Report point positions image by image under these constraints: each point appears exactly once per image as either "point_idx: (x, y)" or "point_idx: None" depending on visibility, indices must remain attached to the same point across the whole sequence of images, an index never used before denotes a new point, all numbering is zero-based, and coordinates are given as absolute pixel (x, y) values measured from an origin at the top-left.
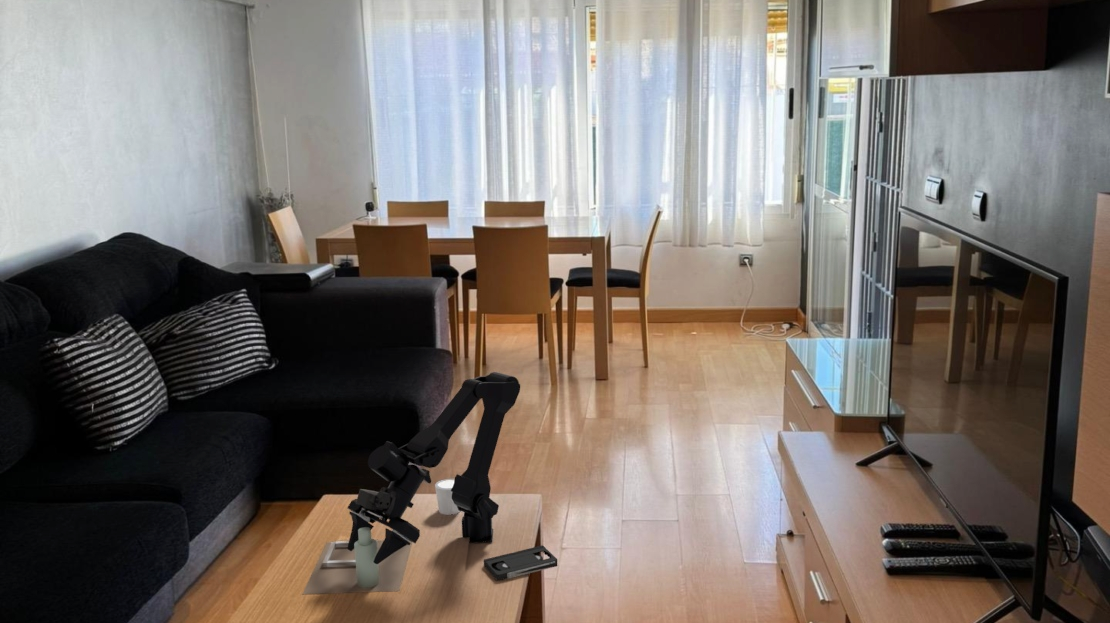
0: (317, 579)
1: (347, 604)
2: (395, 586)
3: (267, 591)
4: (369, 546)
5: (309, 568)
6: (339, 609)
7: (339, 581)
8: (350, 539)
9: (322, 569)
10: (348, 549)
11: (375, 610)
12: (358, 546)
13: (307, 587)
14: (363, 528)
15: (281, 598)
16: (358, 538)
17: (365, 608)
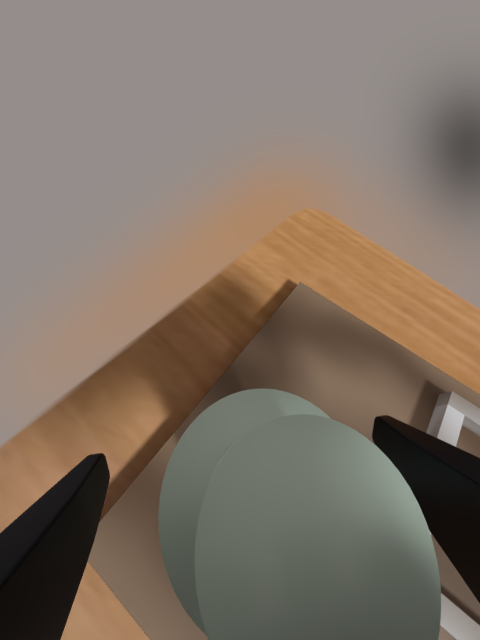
0: (362, 344)
1: (188, 354)
2: (123, 557)
3: (376, 256)
4: (175, 491)
5: (464, 375)
6: (181, 326)
7: (312, 388)
8: (445, 448)
9: (423, 386)
10: (375, 417)
11: (85, 400)
12: (249, 408)
13: (329, 305)
14: (388, 565)
15: (327, 261)
16: (457, 531)
17: (124, 382)
